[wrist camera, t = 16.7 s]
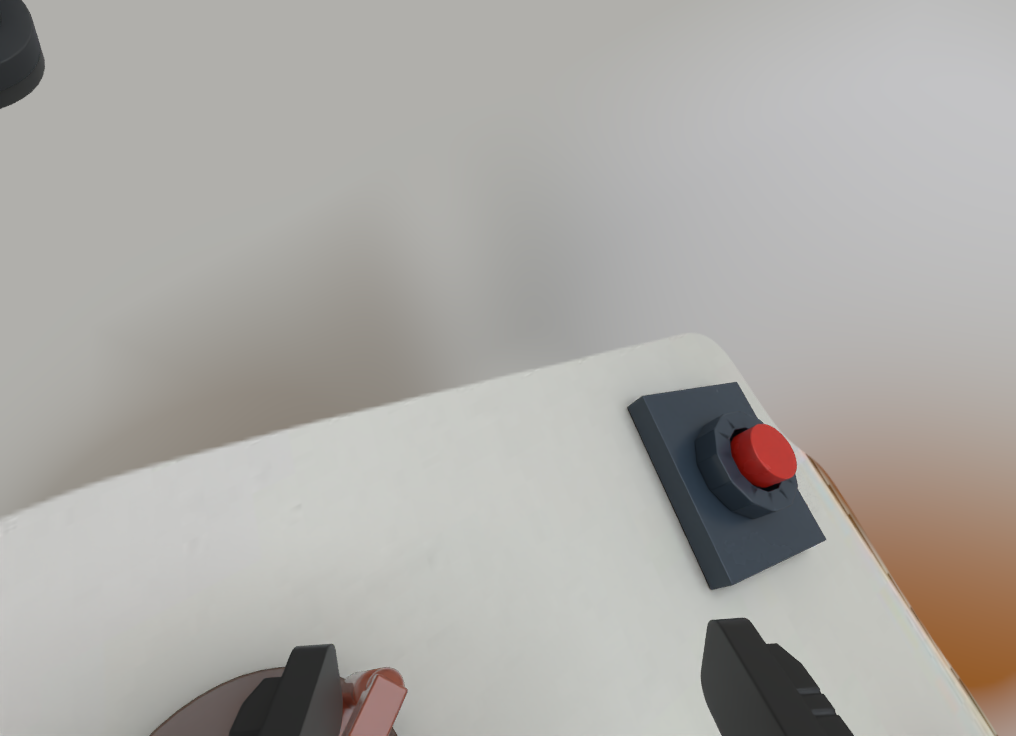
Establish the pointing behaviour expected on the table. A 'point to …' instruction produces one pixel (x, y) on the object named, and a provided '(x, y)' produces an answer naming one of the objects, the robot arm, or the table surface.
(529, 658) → the table surface
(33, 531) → the table surface
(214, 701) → the saucer
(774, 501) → the button box
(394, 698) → the teacup
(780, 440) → the button
